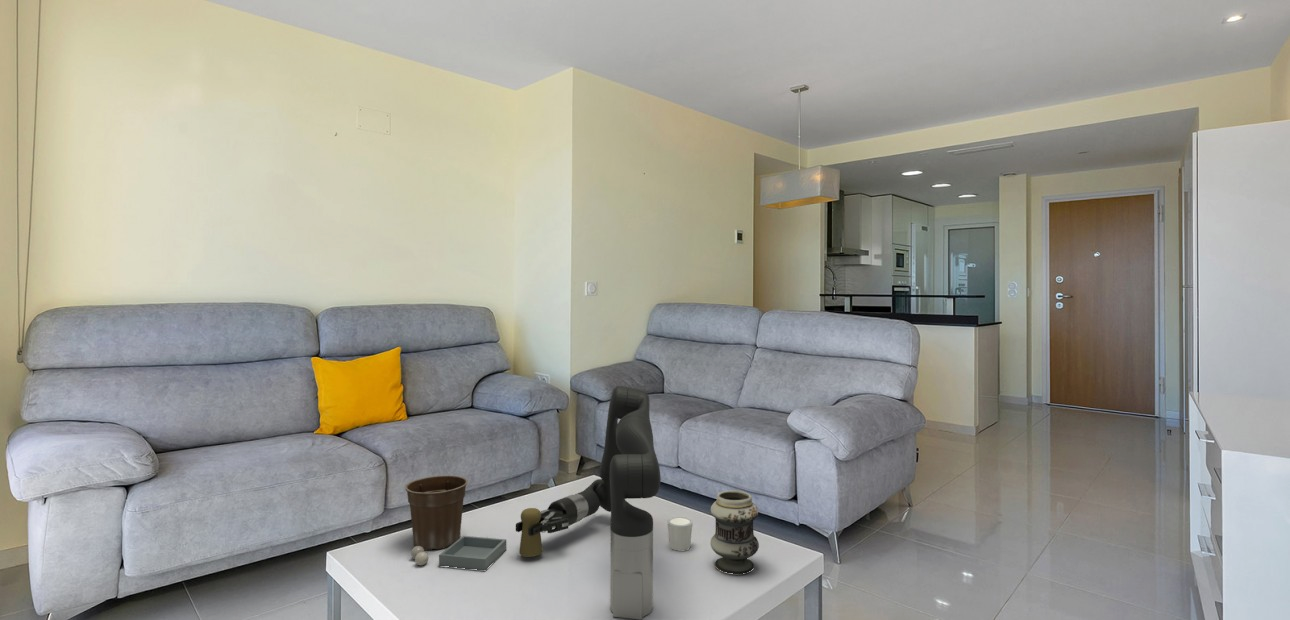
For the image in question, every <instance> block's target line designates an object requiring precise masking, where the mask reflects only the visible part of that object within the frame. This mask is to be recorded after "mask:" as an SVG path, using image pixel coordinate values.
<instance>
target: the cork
mask: <svg viewBox="0 0 1290 620" xmlns="http://www.w3.org/2000/svg"><path fill="white" fill-rule="evenodd" d="M540 519H541V510H540V509H538V508H537V507H528V508H525V509H522V511H521V513H520V522H521V521H522V523H523V526H522V531H521V534H520V541H519V542H520V544H519V551H518V552H519V553H518V554H519V555H520V556H522V557H527V558H528V557H530V558H531V557H537V556H539V555H541V554H543V552H544V550H543V549H544V548H543V542H542V536H541V535H542V534H541V532H540V533H537V534H535V535H533V536H529V535H528V528H529V527H530V526H533V525H535V524H537V523H539V521H540Z"/></svg>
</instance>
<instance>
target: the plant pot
mask: <svg viewBox="0 0 1290 620" xmlns="http://www.w3.org/2000/svg"><path fill="white" fill-rule="evenodd" d="M467 486H468V480H467V478H465V477H462V476H457V475H434V476H426V477H423V478H419V479H415V480H413V481H411V482H408V483H407V484H406V485H405V487H404V488H405V491H406V494H407V501H408V503H409V508H410V509H409V510H410V511H409V512H410V520H411V530H412V539H413V540H412V543H413V546H414V547H416V546H421V547H423V549H427V550H426V551H433V550H432V549H437V550H441V548H442V549H447V548H448V547H450V546H451V545H452V544H453V543H455V542H456V541H457V540H458V539H460V538H461V531H462V520H463V519H462V518H463V508H464V498H465V496H466V490H467Z"/></svg>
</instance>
